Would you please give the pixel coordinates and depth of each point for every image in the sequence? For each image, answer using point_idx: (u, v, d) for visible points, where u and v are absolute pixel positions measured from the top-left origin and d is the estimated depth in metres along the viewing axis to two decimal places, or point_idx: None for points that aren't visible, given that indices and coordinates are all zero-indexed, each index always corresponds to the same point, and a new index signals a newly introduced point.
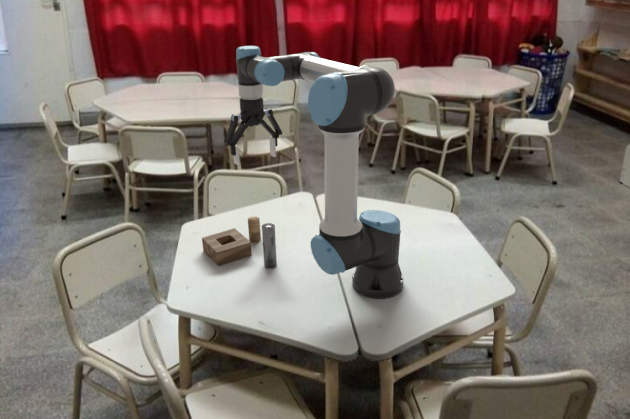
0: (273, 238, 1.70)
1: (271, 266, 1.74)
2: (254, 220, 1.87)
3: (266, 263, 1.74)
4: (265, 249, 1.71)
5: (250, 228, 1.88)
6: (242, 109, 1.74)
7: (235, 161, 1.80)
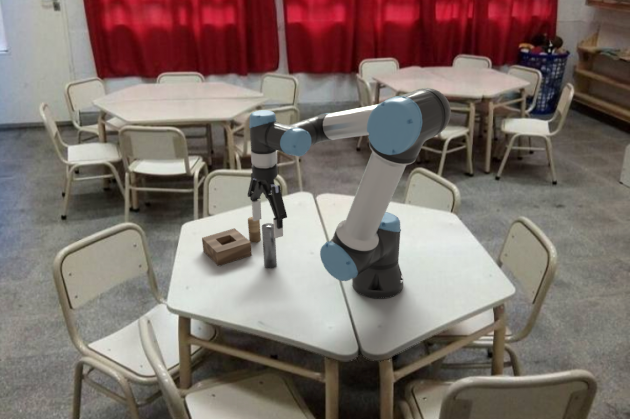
0: (273, 238, 1.70)
1: (271, 266, 1.74)
2: None
3: (266, 263, 1.74)
4: (265, 249, 1.71)
5: (250, 228, 1.88)
6: None
7: None
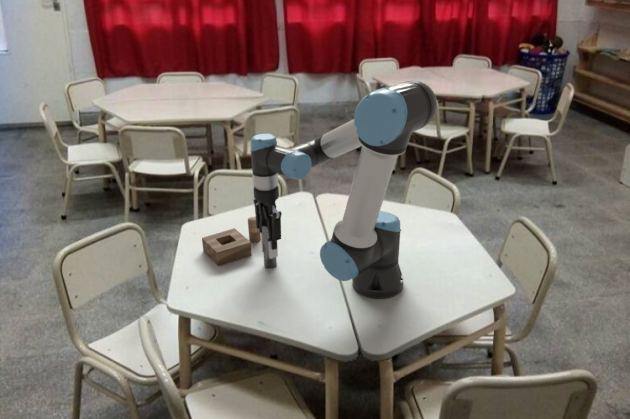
0: None
1: (271, 266, 1.74)
2: (254, 220, 1.87)
3: (266, 263, 1.74)
4: (265, 249, 1.71)
5: (250, 228, 1.88)
6: None
7: None
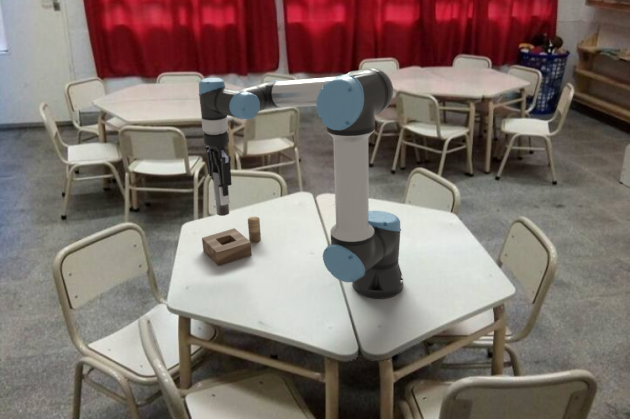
0: None
1: (223, 213, 1.75)
2: (254, 220, 1.87)
3: (218, 210, 1.75)
4: (217, 196, 1.73)
5: (250, 228, 1.88)
6: None
7: None
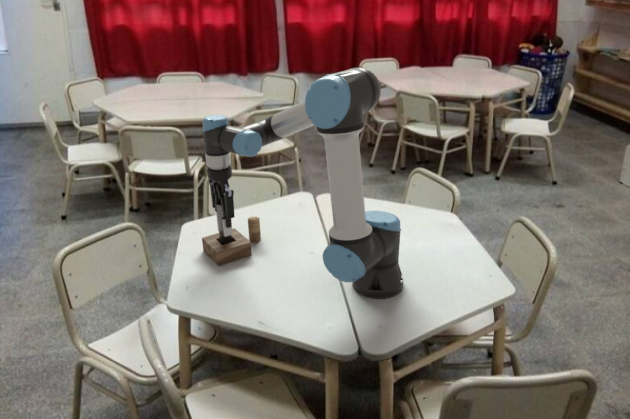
0: None
1: None
2: (254, 220, 1.87)
3: (221, 241, 1.79)
4: (220, 227, 1.77)
5: (250, 228, 1.88)
6: None
7: None
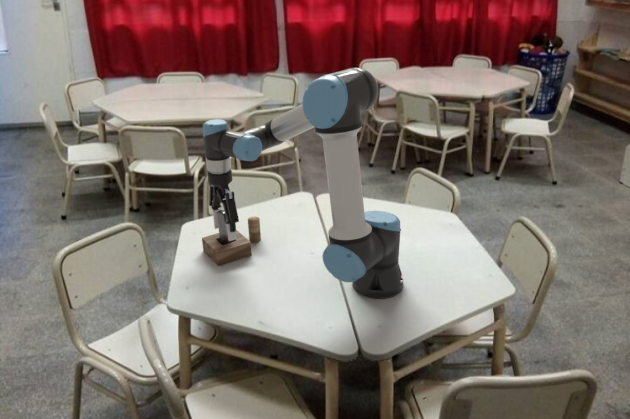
0: None
1: None
2: (254, 220, 1.87)
3: None
4: (221, 235, 1.78)
5: (250, 228, 1.88)
6: None
7: None
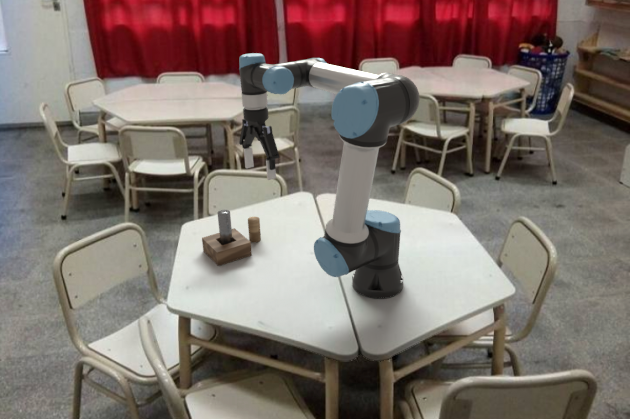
0: (228, 224, 1.77)
1: None
2: (254, 220, 1.87)
3: None
4: (221, 234, 1.78)
5: (250, 228, 1.88)
6: None
7: None
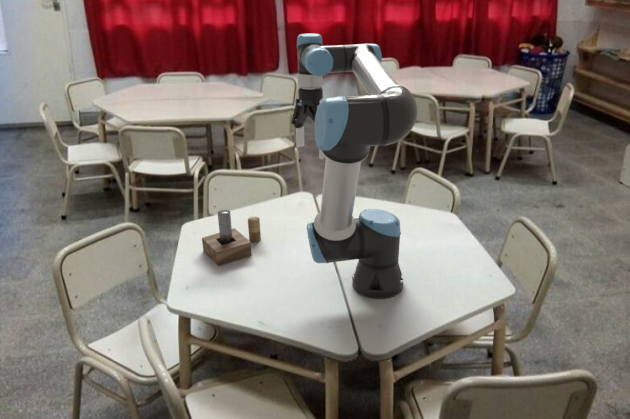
0: (228, 224, 1.77)
1: None
2: (254, 220, 1.87)
3: None
4: (221, 234, 1.78)
5: (250, 228, 1.88)
6: None
7: None
